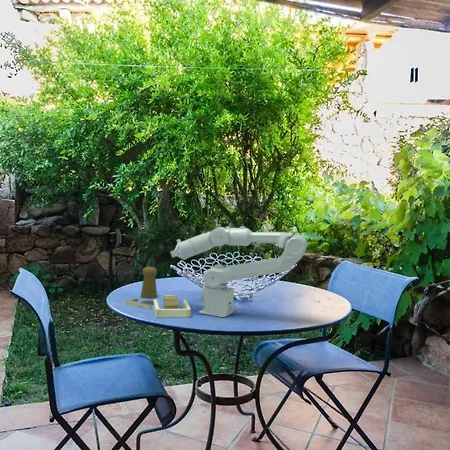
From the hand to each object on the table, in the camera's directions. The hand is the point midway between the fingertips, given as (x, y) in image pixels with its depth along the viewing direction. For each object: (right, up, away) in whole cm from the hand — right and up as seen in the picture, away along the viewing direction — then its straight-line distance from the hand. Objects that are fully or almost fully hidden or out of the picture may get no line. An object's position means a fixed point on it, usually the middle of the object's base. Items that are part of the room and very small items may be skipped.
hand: (159, 259), depth 169 cm
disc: (-5, -16, +5) cm, 17 cm away
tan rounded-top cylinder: (+17, -16, +16) cm, 28 cm away
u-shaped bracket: (+5, -17, -4) cm, 18 cm away
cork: (-6, -15, +15) cm, 22 cm away
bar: (-6, -16, +2) cm, 17 cm away
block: (+4, -17, -1) cm, 17 cm away
